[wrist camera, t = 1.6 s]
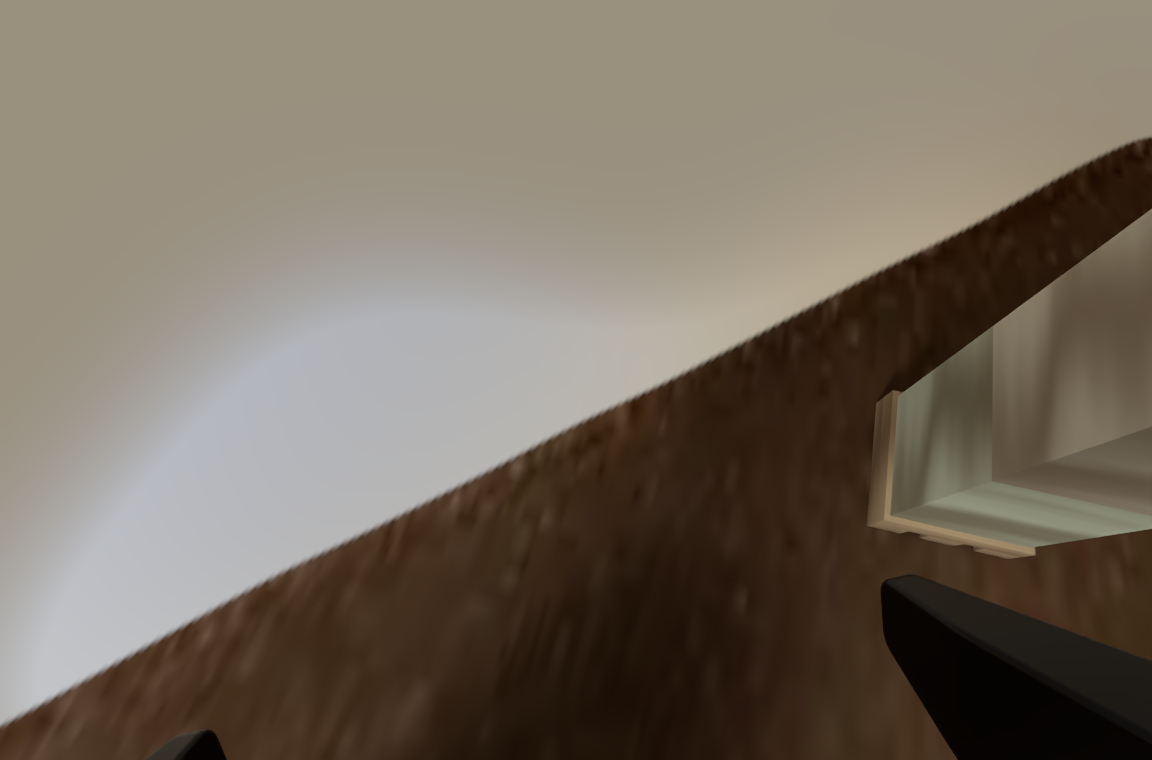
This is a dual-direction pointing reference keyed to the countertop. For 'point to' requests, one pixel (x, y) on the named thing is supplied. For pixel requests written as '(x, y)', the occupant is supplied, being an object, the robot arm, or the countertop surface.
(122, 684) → the countertop surface
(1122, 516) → the pale banded rectangular block
